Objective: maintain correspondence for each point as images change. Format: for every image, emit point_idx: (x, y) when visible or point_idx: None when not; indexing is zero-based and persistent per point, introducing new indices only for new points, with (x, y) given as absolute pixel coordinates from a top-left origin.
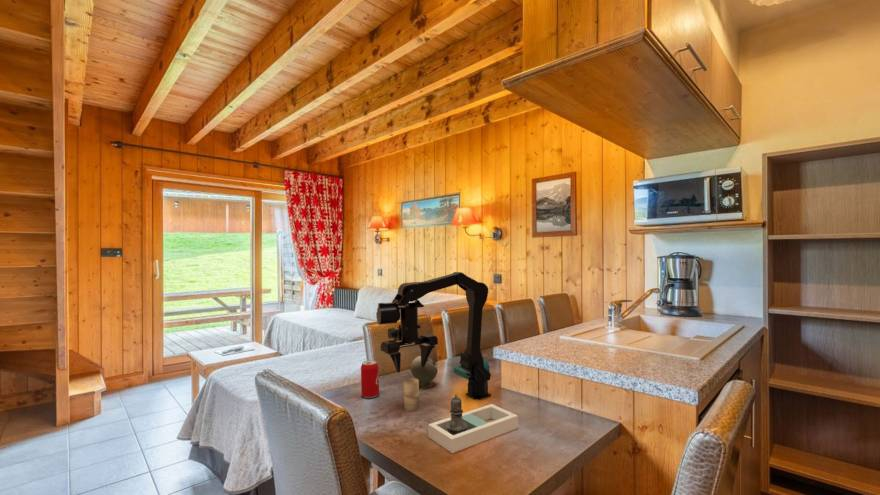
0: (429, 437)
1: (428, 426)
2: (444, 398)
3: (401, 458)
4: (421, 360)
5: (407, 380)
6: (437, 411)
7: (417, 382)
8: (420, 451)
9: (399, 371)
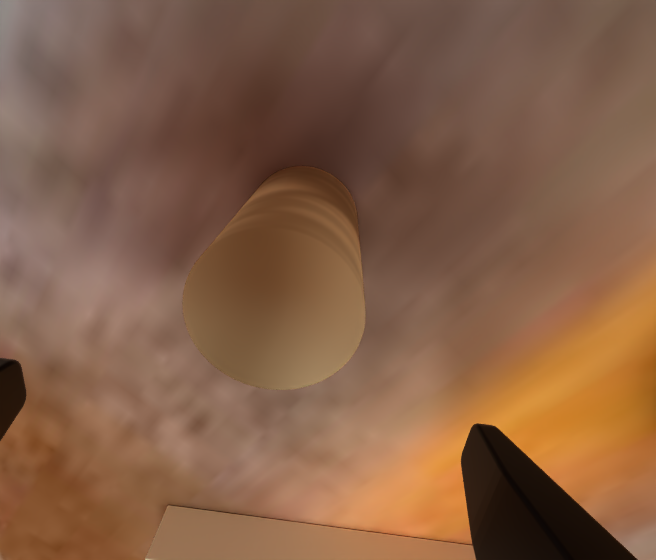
0: (168, 508)
1: (149, 548)
2: (585, 254)
3: (7, 534)
4: (516, 513)
5: (245, 285)
6: (382, 366)
7: (306, 380)
8: (86, 544)
9: (5, 422)
